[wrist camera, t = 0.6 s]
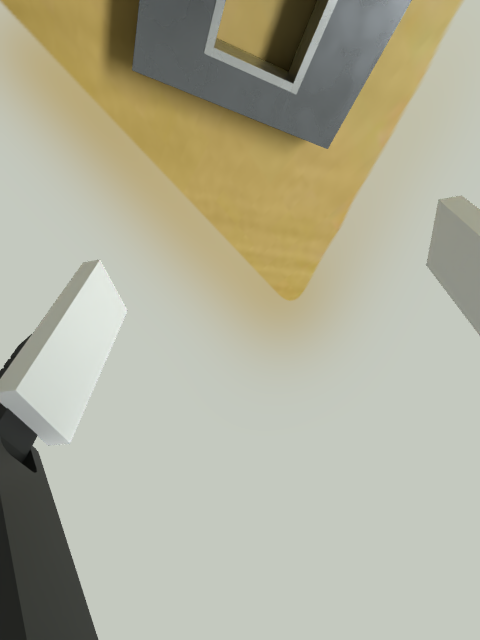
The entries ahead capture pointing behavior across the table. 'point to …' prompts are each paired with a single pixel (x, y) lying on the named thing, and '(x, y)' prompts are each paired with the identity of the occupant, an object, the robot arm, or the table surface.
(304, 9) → the table surface
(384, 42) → the plate
